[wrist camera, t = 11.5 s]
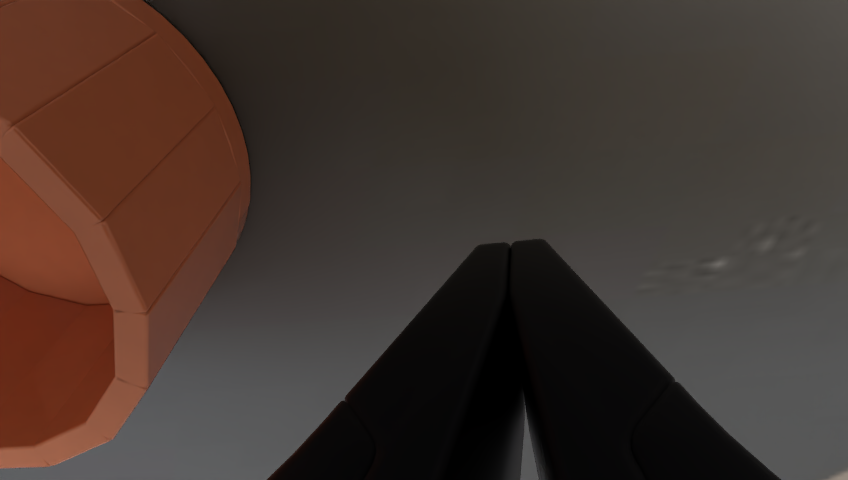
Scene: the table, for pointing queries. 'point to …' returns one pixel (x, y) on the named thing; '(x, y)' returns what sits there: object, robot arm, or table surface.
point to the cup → (103, 214)
